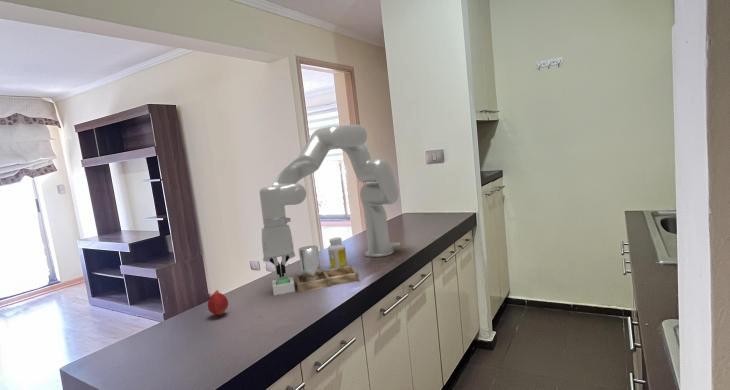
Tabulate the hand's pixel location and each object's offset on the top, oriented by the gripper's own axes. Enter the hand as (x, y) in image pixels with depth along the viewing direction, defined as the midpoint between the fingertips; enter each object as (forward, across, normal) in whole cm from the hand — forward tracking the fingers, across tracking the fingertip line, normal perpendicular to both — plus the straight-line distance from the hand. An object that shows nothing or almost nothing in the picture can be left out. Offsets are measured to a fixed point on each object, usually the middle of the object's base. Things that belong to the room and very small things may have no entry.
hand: (281, 275), depth 133 cm
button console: (+6, 0, 0) cm, 6 cm away
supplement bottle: (+6, -22, -15) cm, 28 cm away
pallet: (+6, -15, -1) cm, 16 cm away
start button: (+6, 0, 0) cm, 6 cm away
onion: (+6, +20, +10) cm, 23 cm away
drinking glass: (+5, -10, -1) cm, 11 cm away
